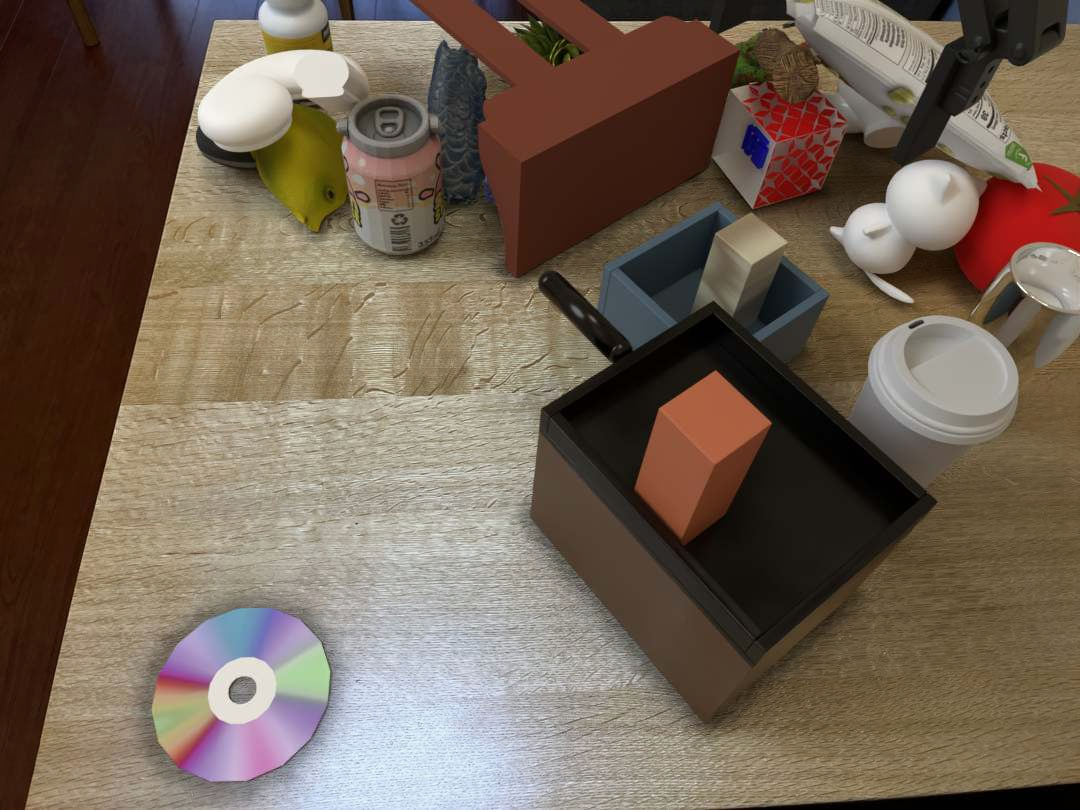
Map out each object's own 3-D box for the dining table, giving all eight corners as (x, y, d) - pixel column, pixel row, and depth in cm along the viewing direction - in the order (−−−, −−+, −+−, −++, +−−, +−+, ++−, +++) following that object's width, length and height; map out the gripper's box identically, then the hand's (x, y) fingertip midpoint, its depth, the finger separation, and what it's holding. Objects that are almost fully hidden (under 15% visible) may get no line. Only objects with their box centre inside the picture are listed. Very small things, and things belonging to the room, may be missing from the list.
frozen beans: (761, 47, 67) (1014, 223, 70) (811, -24, 64) (1075, 165, 67) (765, -8, 83) (970, 137, 87) (806, -66, 80) (1018, 87, 83)
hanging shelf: (708, 167, 86) (519, 17, 98) (740, 49, 75) (523, -103, 87) (516, 278, 77) (333, 98, 89) (521, 162, 66) (312, -25, 78)
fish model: (490, 69, 94) (490, 26, 89) (501, 210, 82) (501, 168, 78) (427, 70, 93) (424, 27, 89) (429, 212, 82) (425, 170, 77)
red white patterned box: (821, 189, 86) (849, 123, 79) (752, 209, 84) (775, 143, 77) (777, 138, 90) (800, 71, 83) (711, 156, 88) (729, 88, 81)
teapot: (1002, 94, 78) (996, -1, 80) (776, 137, 88) (775, 52, 89) (1003, 139, 87) (998, 52, 88) (797, 173, 96) (795, 95, 98)
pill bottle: (332, 111, 88) (313, 4, 78) (268, 106, 88) (241, -3, 78) (344, 72, 92) (328, -36, 82) (283, 66, 92) (259, -43, 82)
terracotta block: (725, 514, 51) (772, 422, 43) (676, 552, 50) (715, 464, 42) (679, 466, 53) (715, 369, 45) (630, 501, 52) (658, 408, 43)
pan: (850, 595, 63) (939, 501, 50) (704, 724, 57) (765, 653, 45) (601, 347, 74) (625, 220, 62) (459, 434, 68) (454, 314, 56)
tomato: (915, 205, 82) (993, 123, 73) (1025, 221, 86) (1112, 144, 77) (962, 334, 75) (1054, 260, 67) (1079, 345, 79) (1182, 277, 70)
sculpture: (228, 82, 81) (193, -1, 75) (387, 70, 79) (365, -16, 73) (194, 166, 74) (152, 82, 67) (369, 154, 72) (342, 67, 66)
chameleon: (924, -11, 91) (780, 6, 100) (818, 30, 70) (648, 46, 79) (922, 59, 93) (781, 69, 103) (819, 117, 73) (655, 123, 82)
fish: (284, 228, 76) (385, 217, 82) (226, 68, 77) (328, 70, 84) (274, 243, 78) (373, 231, 84) (218, 87, 80) (319, 87, 86)
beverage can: (354, 188, 82) (336, 78, 72) (444, 186, 83) (439, 76, 73) (352, 262, 77) (333, 154, 67) (448, 258, 78) (443, 151, 68)
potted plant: (629, 174, 80) (475, 111, 78) (609, 169, 93) (475, 115, 90) (682, 43, 77) (524, -27, 75) (654, 55, 90) (517, -5, 87)
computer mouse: (252, 75, 86) (257, 112, 89) (176, 134, 78) (184, 172, 81) (316, 96, 85) (319, 132, 88) (245, 158, 77) (251, 196, 80)
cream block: (754, 324, 75) (788, 242, 67) (722, 346, 74) (752, 264, 65) (722, 295, 77) (751, 211, 69) (689, 316, 75) (715, 232, 67)
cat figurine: (855, 221, 84) (970, 143, 76) (905, 318, 82) (1030, 249, 73) (807, 217, 79) (925, 133, 70) (858, 322, 76) (988, 247, 68)
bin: (801, 352, 75) (831, 294, 68) (695, 426, 70) (716, 371, 63) (699, 262, 80) (717, 200, 73) (593, 326, 75) (603, 265, 69)
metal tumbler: (1016, 394, 73) (1125, 273, 61) (983, 449, 70) (1091, 332, 58) (939, 351, 76) (1030, 224, 63) (904, 401, 72) (992, 279, 60)
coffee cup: (904, 421, 71) (994, 300, 59) (950, 527, 66) (1059, 419, 54) (792, 431, 70) (859, 310, 58) (829, 540, 65) (912, 433, 52)
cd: (254, 819, 52) (255, 819, 52) (365, 658, 58) (365, 659, 58) (112, 722, 55) (113, 723, 55) (231, 578, 61) (231, 578, 61)
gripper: (686, -511, 35) (618, -3, 52) (1298, -296, 24) (956, 248, 42) (814, -526, 37) (709, -40, 55) (1412, -340, 27) (1047, 186, 45)
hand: (815, 85), depth 48 cm, fingers open, 13 cm apart
